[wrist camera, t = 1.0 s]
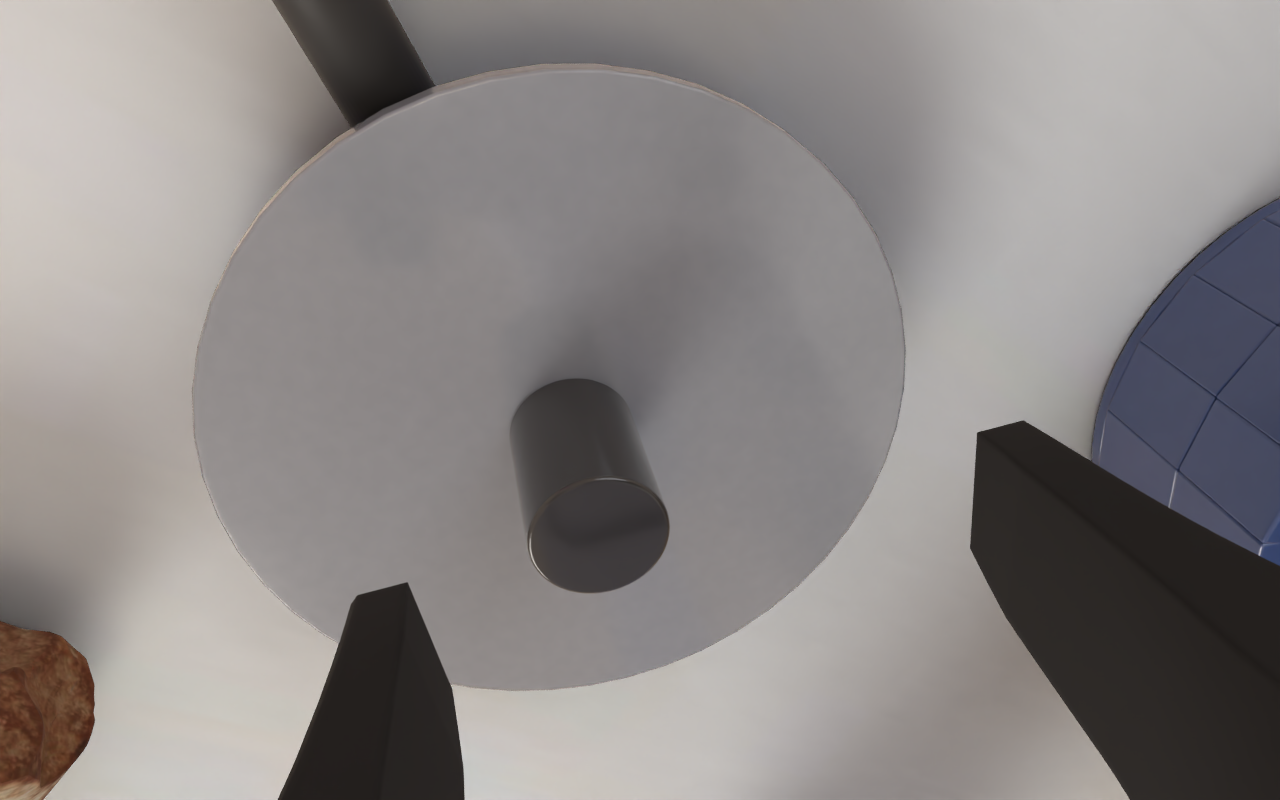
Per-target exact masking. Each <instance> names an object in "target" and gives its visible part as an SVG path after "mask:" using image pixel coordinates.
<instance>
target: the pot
mask: <svg viewBox="0 0 1280 800" xmlns="http://www.w3.org/2000/svg"><path fill="white" fill-rule="evenodd" d="M1092 462H1093V463H1094V464H1096V465H1098V466H1099V467H1101V468H1103V469H1104V470H1106V471H1108V472H1109V473H1111V474H1113V475H1114V476H1116V477H1118V478H1119V479H1121V480H1123V481H1124V482H1126V483H1128V484H1129V485H1131V486H1133V487H1134V488H1136V489H1138V490H1139V491H1141V492H1143V493H1145V494H1146V495H1148V496H1150V497H1151V498H1153V499H1155V500H1157V501H1158V502H1160V503H1162V504H1164V505H1165V506H1167V507H1169V508H1170V509H1172V510H1174V511H1176V512H1178V513H1179V514H1181V515H1183V516H1185V517H1187V518H1188V519H1190V520H1192V521H1194V522H1196V523H1197V524H1199V525H1201V526H1203V527H1205V528H1207V529H1209V530H1210V531H1212V532H1214V533H1216V534H1218V535H1220V536H1222V537H1224V538H1226V539H1228V540H1229V541H1231V542H1233V543H1235V544H1237V545H1239V546H1241V547H1243V548H1245V549H1247V550H1249V551H1251V552H1253V553H1255V554H1257V555H1259V556H1261V557H1263V558H1265V559H1267V560H1269V561H1271V562H1273V563H1275V564H1277V565H1279V566H1280V198H1279V199H1277V200H1276V201H1274V202H1272V203H1270V204H1268V205H1266V206H1265V207H1263V208H1261V209H1259V210H1257V211H1256V212H1255V213H1253V214H1252V215H1250V216H1249V217H1247V218H1246V219H1244V220H1243V221H1241V222H1240V223H1238V224H1237V225H1235V226H1234V227H1233V228H1231V229H1230V230H1228V231H1227V232H1226V233H1224V234H1223V235H1222V236H1221V237H1220V238H1218V239H1217V240H1216V241H1215V242H1214V243H1212V244H1211V245H1210V246H1209V247H1207V248H1206V249H1205V250H1204V251H1203V252H1201V253H1200V254H1199V255H1198V256H1197V257H1196V258H1195V259H1194V260H1193V261H1192V262H1191V263H1190V264H1189V265H1188V266H1187V267H1186V268H1185V269H1184V270H1183V271H1182V272H1181V273H1180V274H1179V275H1178V276H1177V277H1176V278H1175V279H1174V280H1173V281H1172V282H1171V283H1170V285H1169V286H1168V287H1167V288H1166V289H1165V290H1164V292H1163V293H1162V294H1161V295H1160V296H1159V298H1158V299H1157V300H1156V301H1155V302H1154V304H1153V305H1152V306H1151V307H1150V309H1149V310H1148V312H1147V313H1146V314H1145V316H1144V317H1143V319H1142V320H1141V322H1140V323H1139V324H1138V326H1137V327H1136V329H1135V330H1134V332H1133V333H1132V335H1131V336H1130V338H1129V340H1128V342H1127V344H1126V345H1125V347H1124V349H1123V351H1122V353H1121V354H1120V356H1119V358H1118V360H1117V362H1116V364H1115V366H1114V368H1113V371H1112V373H1111V375H1110V378H1109V380H1108V382H1107V385H1106V387H1105V389H1104V393H1103V396H1102V399H1101V403H1100V406H1099V409H1098V413H1097V416H1096V422H1095V428H1094V434H1093V441H1092Z"/></svg>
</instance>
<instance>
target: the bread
mask: <svg viewBox="0 0 1280 800" xmlns="http://www.w3.org/2000/svg"><path fill="white" fill-rule="evenodd" d="M94 706H95V702H94V682H93V679H92V675H91V672H90V669H89V666H88V663H87V660H86V658H85V657H84V656H83V655H82V654H81V653H80V652H78V651H77V650H76V649H75V648H73V647H72V646H71V645H70V644H69V643H68V642H67V641H66V640H65V639H64V638H63V637H61V636H59V635H57V634H54V633H51V632H46V631H36V630H28V629H22V628H19V627H16V626H13V625H10V624H7V623H4V622H1V621H0V800H43V799H44V798H45V797H46V795H47V794H48V793H49V792H50V791H51V790H52V788H53V787H54V786H55V785H56V784H57V782H58V781H59V780H60V779H61V777H62V776H63V775H64V774H65V773H66V771H67V770H68V769H69V768H70V767H71V765H72V764H73V763H74V762H75V761H76V759H77V758H78V757H79V756H80V754H81V753H82V752H83V751H84V749H85V747H86V746H87V744H88V742H89V739H90V736H91V733H92V730H93V726H94V723H95V718H94V713H93V712H94Z"/></svg>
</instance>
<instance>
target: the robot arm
mask: <svg viewBox="0 0 1280 800" xmlns="http://www.w3.org/2000/svg"><path fill="white" fill-rule="evenodd" d="M970 549H971V551H972V553H973V555H974V557H975V559H976V561H977V563H978V565H979V567H980V569H981V571H982V573H983V575H984V577H985V579H986V581H987V583H988V585H989V587H990V588H991V590H992V592H993V594H994V596H995V598H996V600H997V602H998V603H999V605H1000V607H1001V609H1002V611H1003V613H1004V615H1005V616H1006V618H1007V620H1008V621H1009V623H1010V624H1011V626H1012V627H1013V629H1014V630H1015V632H1016V633H1017V635H1018V636H1019V637H1020V639H1021V640H1022V642H1023V643H1024V645H1025V646H1026V648H1027V649H1028V651H1029V652H1030V653H1031V655H1032V656H1033V658H1034V659H1035V661H1036V662H1037V664H1038V665H1039V667H1040V668H1041V669H1042V671H1043V672H1044V674H1045V675H1046V677H1047V678H1048V680H1049V681H1050V682H1051V684H1052V685H1053V687H1054V688H1055V690H1056V691H1057V692H1058V694H1059V695H1060V697H1061V698H1062V700H1063V701H1064V702H1065V704H1066V705H1067V707H1068V708H1069V710H1070V711H1071V712H1072V714H1073V715H1074V717H1075V718H1076V720H1077V721H1078V722H1079V724H1080V725H1081V727H1082V728H1083V730H1084V731H1085V732H1086V734H1087V735H1088V737H1089V738H1090V740H1091V741H1092V743H1093V744H1094V745H1095V747H1096V748H1097V750H1098V751H1099V753H1100V754H1101V755H1102V757H1103V758H1104V760H1105V761H1106V763H1107V764H1108V766H1109V767H1110V769H1111V770H1112V772H1113V773H1114V775H1115V777H1116V778H1117V780H1118V781H1119V783H1120V784H1121V786H1122V787H1123V789H1124V791H1125V792H1126V794H1127V795H1128V797H1129V799H1130V800H1280V566H1279V565H1277V564H1275V563H1273V562H1271V561H1269V560H1267V559H1265V558H1263V557H1261V556H1259V555H1257V554H1255V553H1253V552H1251V551H1249V550H1247V549H1245V548H1243V547H1241V546H1239V545H1237V544H1235V543H1233V542H1231V541H1229V540H1228V539H1226V538H1224V537H1222V536H1220V535H1218V534H1216V533H1214V532H1212V531H1210V530H1209V529H1207V528H1205V527H1203V526H1201V525H1199V524H1197V523H1196V522H1194V521H1192V520H1190V519H1188V518H1187V517H1185V516H1183V515H1181V514H1179V513H1178V512H1176V511H1174V510H1172V509H1170V508H1169V507H1167V506H1165V505H1164V504H1162V503H1160V502H1158V501H1157V500H1155V499H1153V498H1151V497H1150V496H1148V495H1146V494H1145V493H1143V492H1141V491H1139V490H1138V489H1136V488H1134V487H1133V486H1131V485H1129V484H1128V483H1126V482H1124V481H1123V480H1121V479H1119V478H1118V477H1116V476H1114V475H1113V474H1111V473H1109V472H1108V471H1106V470H1104V469H1103V468H1101V467H1099V466H1098V465H1096V464H1094V463H1093V462H1091V461H1090V460H1088V459H1086V458H1085V457H1083V456H1081V455H1080V454H1078V453H1077V452H1075V451H1073V450H1072V449H1070V448H1068V447H1067V446H1065V445H1063V444H1062V443H1060V442H1059V441H1057V440H1055V439H1054V438H1052V437H1050V436H1049V435H1047V434H1045V433H1044V432H1042V431H1040V430H1039V429H1037V428H1035V427H1034V426H1032V425H1030V424H1029V423H1027V422H1025V421H1019V422H1016V423H1012V424H1008V425H1004V426H1000V427H997V428H993V429H989V430H985V431H981V432H977V445H976V462H975V478H974V495H973V511H972V528H971V544H970ZM278 800H464V773H463V762H462V755H461V747H460V740H459V732H458V725H457V719H456V712H455V705H454V698H453V692H452V688H451V685H450V683H449V680H448V678H447V676H446V673H445V671H444V668H443V666H442V663H441V661H440V659H439V656H438V654H437V651H436V649H435V647H434V644H433V642H432V639H431V637H430V635H429V632H428V630H427V627H426V625H425V623H424V620H423V618H422V615H421V613H420V611H419V608H418V606H417V603H416V601H415V599H414V596H413V594H412V591H411V589H410V587H409V584H408V582H406V583H402V584H398V585H394V586H390V587H387V588H383V589H379V590H375V591H371V592H368V593H364V594H360V595H357V596H356V598H355V599H354V600H353V602H352V603H351V605H350V609H349V612H348V616H347V619H346V622H345V626H344V629H343V632H342V635H341V638H340V642H339V645H338V648H337V651H336V654H335V657H334V660H333V663H332V666H331V669H330V672H329V674H328V677H327V680H326V683H325V686H324V688H323V691H322V694H321V697H320V699H319V702H318V705H317V707H316V710H315V712H314V715H313V717H312V720H311V722H310V725H309V727H308V730H307V732H306V735H305V738H304V740H303V743H302V745H301V748H300V750H299V753H298V755H297V758H296V760H295V762H294V765H293V767H292V769H291V772H290V774H289V776H288V778H287V780H286V783H285V785H284V787H283V789H282V791H281V794H280V796H279V798H278Z"/></svg>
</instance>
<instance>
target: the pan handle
mask: <svg viewBox="0 0 1280 800" xmlns="http://www.w3.org/2000/svg"><path fill="white" fill-rule="evenodd" d="M272 1H273V2H274V4H275V6H276V7H277V9H278V10H279V12H280V14H281V15H282V17H283V19H284V20H285V22H286V23H287V25H288V27H289V28H290V30H291V31H292V33H293V35H294V36H295V38H296V40H297V41H298V43H299V44H300V46H301V48H302V49H303V51H304V52H305V54H306V56H307V57H308V59H309V61H310V62H311V64H312V65H313V67H314V69H315V70H316V72H317V73H318V75H319V77H320V78H321V80H322V82H323V83H324V85H325V86H326V88H327V90H328V91H329V93H330V94H331V96H332V98H333V99H334V101H335V103H336V104H337V106H338V107H339V109H340V111H341V112H342V114H343V116H344V117H345V119H346V120H347V122H348V124H349V125H350V127H351V128H353V127H354V126H356V125H358V124H359V123H361V122H363V121H364V120H366V119H367V118H369V117H371V116H372V115H374V114H376V113H377V112H379V111H381V110H382V109H384V108H386V107H388V106H391V105H393V104H395V103H398V102H400V101H402V100H405V99H407V98H409V97H411V96H414V95H416V94H418V93H421V92H423V91H425V90H427V89H430V88H432V87H434V86H435V85H434V83H433V81H432V80H431V78H430V76H429V74H428V72H427V71H426V69H425V67H424V65H423V63H422V62H421V60H420V58H419V56H418V54H417V53H416V51H415V49H414V47H413V45H412V44H411V42H410V40H409V38H408V37H407V35H406V33H405V31H404V29H403V28H402V26H401V24H400V22H399V20H398V19H397V17H396V15H395V13H394V11H393V10H392V8H391V6H390V4H389V2H388V1H387V0H272Z"/></svg>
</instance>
